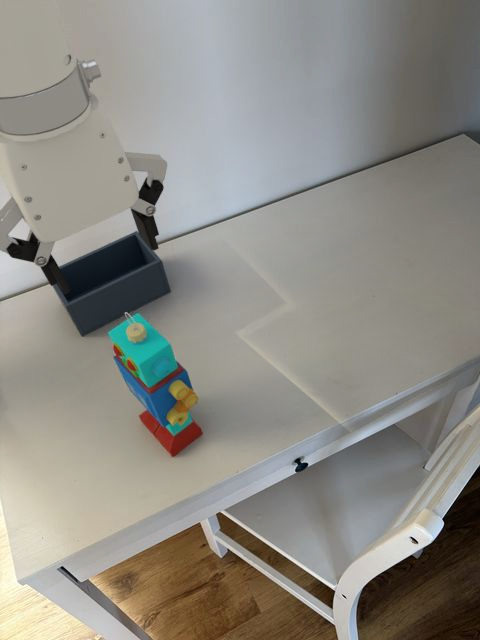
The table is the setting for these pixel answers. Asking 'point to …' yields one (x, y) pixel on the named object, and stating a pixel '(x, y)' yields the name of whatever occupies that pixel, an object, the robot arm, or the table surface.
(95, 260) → the tote
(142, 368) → the toy robot
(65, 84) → the robot arm
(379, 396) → the table surface
